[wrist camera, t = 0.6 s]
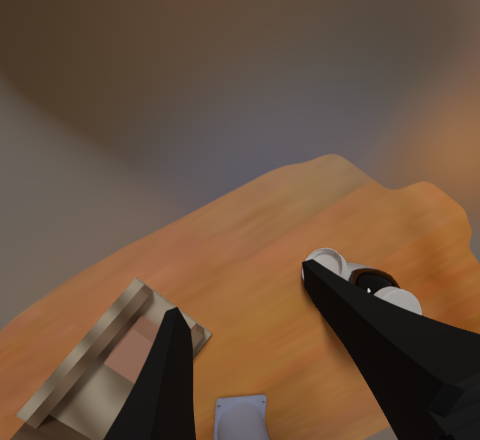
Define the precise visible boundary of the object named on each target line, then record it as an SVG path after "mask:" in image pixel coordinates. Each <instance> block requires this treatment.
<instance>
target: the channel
mask: <svg viewBox="0 0 480 440" xmlns="http://www.w3.org/2000/svg"><path fill="white" fill-rule="evenodd" d="M175 307H177V306H175V305H174V304H173V303H171V302H170V301H169V300H167V299H166V298H165V297H163V296H162V295H161V294H159V293H158V292H156V291H155V290H154V289H152V288H151V287H150V286H148V285H147V284H146V283H144V282H143V281H142V280H140V279H139V278H138V277H136V278H135V279H134V281H133V282H132V283H131V284H130V285H129V286H128V287H127V289H126V290H125V291H124V292H123V293H122V294H121V295H120V297H119V298H118V299H117V300H116V301H115V302H114V303H113V305H112V306H111V307H110V308H109V309H108V310H107V312H106V313H105V314H104V315H103V316H102V317H101V318H100V320H99V321H98V322H97V323H96V324H95V325H94V326H93V328H92V329H91V330H90V331H89V332H88V333H87V334H86V336H85V337H84V338H83V339H82V340H81V341H80V342H79V344H78V345H77V346H76V347H75V348H74V349H73V350H72V352H71V353H70V354H69V355H68V356H67V357H66V358H65V360H64V361H63V362H62V363H61V364H60V365H59V366H58V368H57V369H56V370H55V371H54V372H53V373H52V375H51V376H50V377H49V378H48V379H47V380H46V381H45V383H44V384H43V385H42V386H41V387H40V388H39V389H38V391H37V392H36V393H35V394H34V395H33V396H32V397H31V399H30V400H29V401H28V402H27V403H26V404H25V405H24V407H23V408H22V409H21V410H20V411H19V412H18V413H17V415H16V416H17V417H19V418H21V419H22V420H24V421H26V422H25V423H24V424H23V426H22V427H21V428H20V429H19V430H18V431H17V432H16V434H15V435H14V436H13V437H12V438H11V439H10V440H103V439H104V437H105V436H106V434H107V432H108V431H109V429H110V427H111V426H112V424H113V422H114V420H115V419H116V417H117V415H118V414H119V412H120V410H121V408H122V407H123V405H124V403H125V401H126V399H127V397H128V395H129V394H130V392H131V390H132V388H133V386H134V383H133V382H131V381H130V380H128V379H126V378H125V377H123V376H122V375H120V374H119V373H117V372H116V371H114V370H113V369H111V368H110V367H108V366H107V365H105V364H104V362H105V361H106V359H107V358H108V356H109V355H110V353H111V352H112V350H113V349H114V347H115V346H116V344H117V343H118V342H119V341H120V340H121V339H122V337H123V336H124V335H125V334H126V333H127V331H128V330H129V329H130V328H131V327H132V326H133V324H134V323H135V322H136V321H137V320H138V318H139V317H140V316H141V315H143V316H144V317H145V318H147V319H148V320H150V321H151V322H152V323H154V324H155V325H157V326H158V327H160V325H161V322H162V319H163V317H164V314H165V312H166V311H167V310H170V309H172V308H175ZM179 310H180V312H181V314H182V315H183V317H184V319H185V320H186V322H187V324H188V325H189V327H190V329H191V335H192V344H193V358H194V356H195V355H196V354H197V352H198V351H199V350H200V349H201V347H202V346H203V345H204V343H205V342H206V341H207V340H208V338H209V337H210V336H211V334H212V333H211V332H210V331H209V330H208V329H206V328H205V327H204V326H202V325H201V324H200V323H198V322H197V321H196V320H194V319H193V318H192V317H190V316H189V315H188V314H186V313H185V312H183V311H182V310H181V309H179Z"/></svg>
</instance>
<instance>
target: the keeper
mask: <svg viewBox="0 0 480 440" xmlns="http://www.w3.org/2000/svg"><path fill="white" fill-rule="evenodd" d="M158 330H159V327H158V326H157V325H155V324H154V323H152V322H151V321H150V320H148V319H147V318H145V317H144V316H143V315H141V316H140V317H139V318H138V320H137V321H136V322H135V323H134V324H133V326H132V327H131V328H130V329H129V330H128V331H127V333H126V334H125V335H124V336H123V337H122V339H121V340H120V341H119V342H118V343H117V344H116V346H115V347H114V349H113V350H112V352H111V353H110V355H109V356H108V358H107V359H106V361H105V362H104V364H105V365H107V366H108V367H110V368H111V369H113V370H114V371H116V372H117V373H119V374H120V375H122V376H123V377H125V378H126V379H128V380H130V381H131V382H133V383H134V384H135V382H136V380H137V378H138V376H139V374H140V371H141V369H142V367H143V365H144V363H145V361H146V359H147V356H148V354H149V352H150V349H151V347H152V345H153V342H154V340H155V337H156V335H157V332H158Z"/></svg>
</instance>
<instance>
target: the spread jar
mask: <svg viewBox="0 0 480 440" xmlns="http://www.w3.org/2000/svg"><path fill="white" fill-rule="evenodd" d="M310 259H314V260H315V261H317V262H318V263H320V264H321V265H323V266H324V267H326V268H327V269H329V270H331V271H332V272H334V273H335V274H337V275H339V276H340V277H342V278H344V279H345V280H347V281H349V282H350V283H352V284H354V285H356V286H358V287H359V288H361V289H363V290H365V291H367V292H369V293H371V294H373V295H375V296H377V297H379V298H381V299H383V300H385V301H388V302H390V303H392V304H394V305H397V306H399V307H401V308H404V309H406V310H409V311H411V312H414V313H417V314H419V315H422V311H421V307H420V304H419V302H418V300H417V299H416V297H415V296H414V295H413V294H411V293H410V292H408V291H405V290H402V289H401V288H400V287H399V285H398V283H397V282H396V281H395V280H394V278H393V277H392V276H391V275H389V274H387V273H385V272H383V271H381V270H378V269H375V268H372V267H369V266H365V265H361V264H356V263H348V262H346V261H345V259H344V258H343V257H342V256H341V255H340V254H339V253H338V252H336V251H335V250H333V249H330V248H321V249H318V250H315V251H314V252H312V253H311V254H310V255H309V256H308V257H307V258H306V260H305V261H307V260H310ZM302 276H303V268H302ZM303 279H304V276H303Z"/></svg>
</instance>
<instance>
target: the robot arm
mask: <svg viewBox="0 0 480 440" xmlns="http://www.w3.org/2000/svg"><path fill="white" fill-rule="evenodd" d="M302 266H303V276H304V286H305V289H306V290H307V292H308V294H309V296H310V297H311V299H312V301H313V303H314V304H315V306H316V307H317V308H318V310H319V311H320V313H321V314H322V315H323V317H324V318H325V319H326V321H327V322H328V324H329V325H330V326H331V328H332V329H333V330H334V332H335V333H336V334H337V336H338V337H339V339H340V340H341V342H342V343H343V344H344V346H345V347H346V349H347V351H348V352H349V354H350V356H351V357H352V359H353V361H354V362H355V364H356V365H357V367H358V369H359V371H360V372H361V374H362V376H363V377H364V379H365V381H366V382H367V384H368V386H369V388H370V389H371V391H372V393H373V395H374V396H375V398H376V400H377V402H378V404H379V405H380V407H381V409H382V411H383V412H384V414H385V416H386V418H387V420H388V422H389V424H390V425H391V427H392V429H393V431H394V433H395V435H396V436H397V438H398V440H480V334H477V333H474V332H470V331H467V330H463V329H460V328H457V327H453V326H450V325H447V324H444V323H441V322H438V321H435V320H433V319H430V318H427V317H424V316H422V315H419V314H417V313H414V312H411V311H409V310H406V309H404V308H401V307H399V306H397V305H394V304H392V303H390V302H388V301H385V300H383V299H381V298H379V297H377V296H375V295H373V294H371V293H369V292H367V291H365V290H363V289H361V288H359V287H358V286H356V285H354V284H352V283H350V282H349V281H347V280H345V279H344V278H342V277H340V276H339V275H337V274H335V273H334V272H332V271H331V270H329V269H327V268H326V267H324V266H323V265H321V264H320V263H318V262H317V261H315V260H314V259H310V260H307V261H304V262H302ZM262 401H264V402H262ZM218 405H220V406H218ZM265 414H266V396H265V395H264V394H262V395H251V396H240V397H229V398H219V399H217V400H216V409H215V423H214V437H213V440H270V437H269V434H268V431H267V428H266V425H265ZM103 440H196V434H195V422H194V409H193V344H192V335H191V329H190V327H189V325H188V324H187V322H186V320H185V319H184V317H183V315H182V314H181V312H180V310H179V308H178V307H175V308H172V309H170V310H167V311H166V312H165V314H164V317H163V319H162V322H161V325H160V327H159V330H158V332H157V335H156V337H155V340H154V342H153V345H152V347H151V349H150V352H149V354H148V356H147V359H146V361H145V363H144V365H143V367H142V369H141V371H140V374H139V376H138V378H137V380H136V382H135V384H134V386H133V388H132V390H131V392H130V394H129V395H128V397H127V399H126V401H125V403H124V405H123V407H122V408H121V410H120V412H119V414H118V415H117V417H116V419H115V420H114V422H113V424H112V426H111V427H110V429H109V431H108V432H107V434H106V436H105V437H104V439H103Z"/></svg>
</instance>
